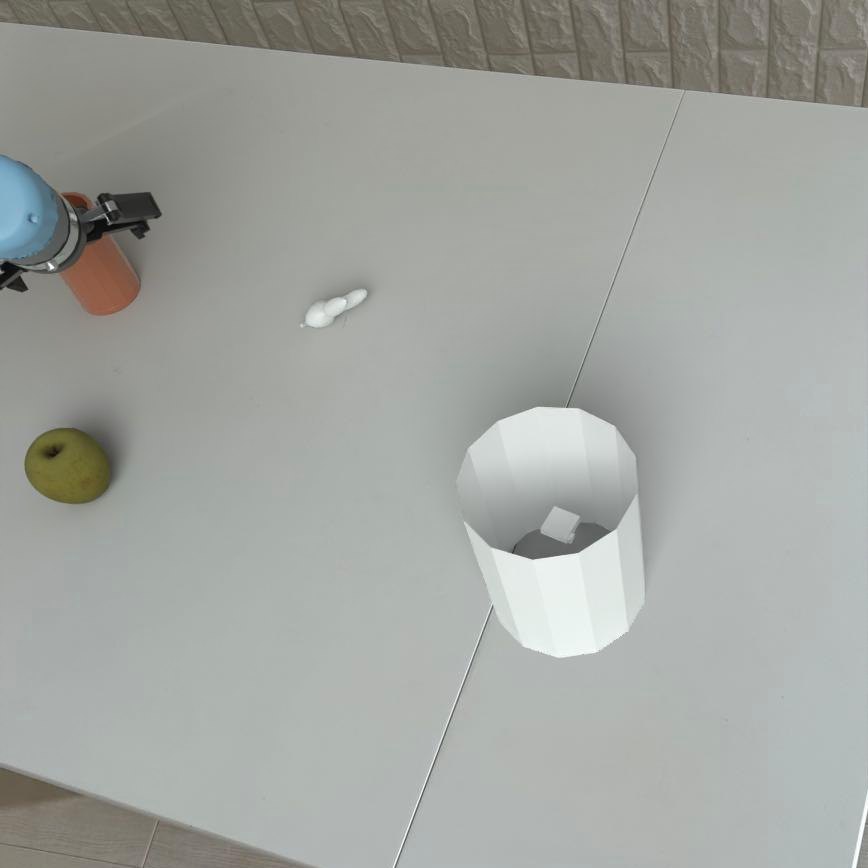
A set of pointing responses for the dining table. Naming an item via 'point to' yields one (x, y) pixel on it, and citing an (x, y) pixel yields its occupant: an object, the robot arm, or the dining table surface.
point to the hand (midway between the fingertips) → (77, 252)
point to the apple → (67, 466)
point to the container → (556, 527)
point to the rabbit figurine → (332, 309)
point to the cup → (100, 272)
